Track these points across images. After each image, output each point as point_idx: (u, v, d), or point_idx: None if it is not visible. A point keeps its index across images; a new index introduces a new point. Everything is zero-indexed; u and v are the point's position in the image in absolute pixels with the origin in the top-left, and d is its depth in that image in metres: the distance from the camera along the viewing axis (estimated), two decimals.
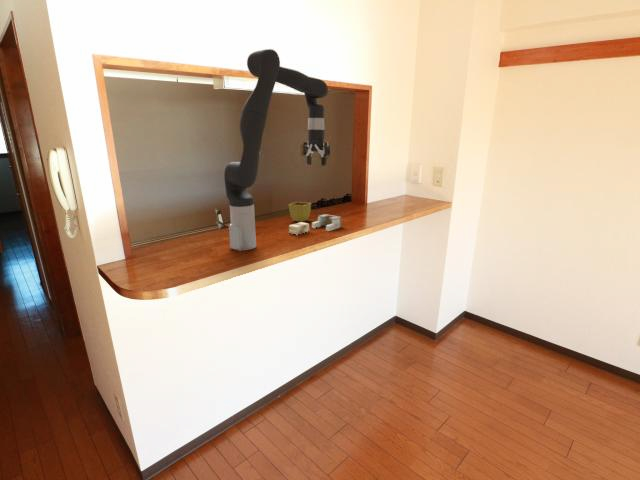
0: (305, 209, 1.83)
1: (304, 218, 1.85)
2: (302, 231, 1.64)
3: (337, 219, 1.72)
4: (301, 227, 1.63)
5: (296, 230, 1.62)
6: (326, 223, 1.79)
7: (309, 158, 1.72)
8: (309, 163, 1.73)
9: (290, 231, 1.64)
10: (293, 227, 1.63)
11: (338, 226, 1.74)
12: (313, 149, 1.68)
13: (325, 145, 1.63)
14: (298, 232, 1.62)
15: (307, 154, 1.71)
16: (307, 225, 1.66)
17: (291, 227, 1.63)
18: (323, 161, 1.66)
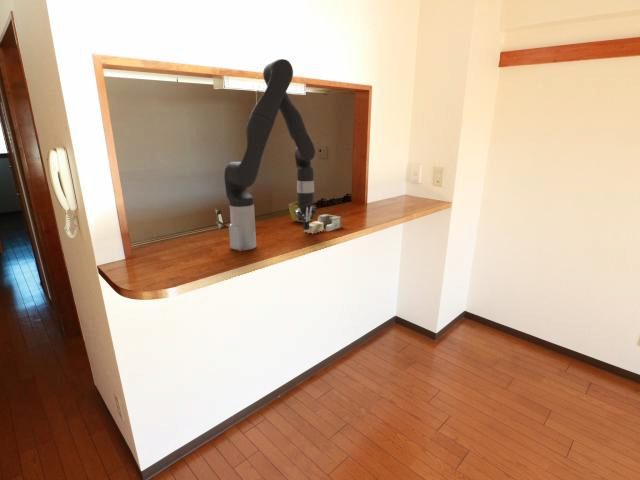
0: None
1: None
2: (317, 230, 1.66)
3: (337, 219, 1.72)
4: (316, 226, 1.65)
5: (311, 229, 1.64)
6: (326, 223, 1.79)
7: None
8: None
9: (305, 230, 1.66)
10: None
11: (338, 226, 1.74)
12: None
13: None
14: (313, 231, 1.64)
15: (304, 218, 1.63)
16: (322, 224, 1.68)
17: None
18: (303, 225, 1.63)
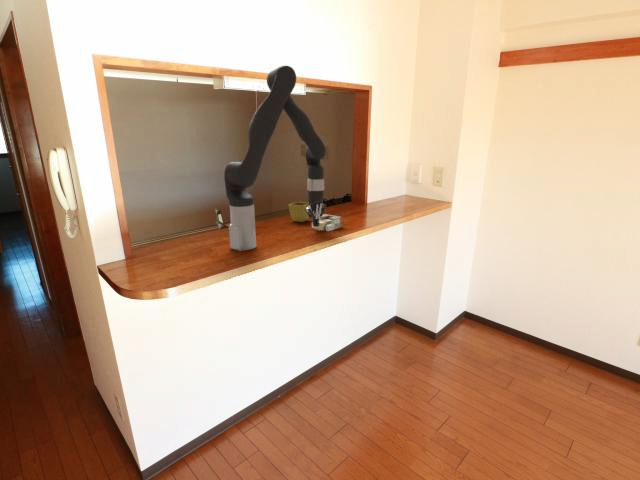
0: None
1: (304, 218, 1.85)
2: None
3: (337, 219, 1.72)
4: (325, 223, 1.71)
5: (321, 226, 1.69)
6: None
7: None
8: None
9: (314, 227, 1.72)
10: None
11: (338, 226, 1.74)
12: None
13: None
14: (322, 228, 1.70)
15: (314, 215, 1.69)
16: (330, 221, 1.73)
17: None
18: (313, 222, 1.68)
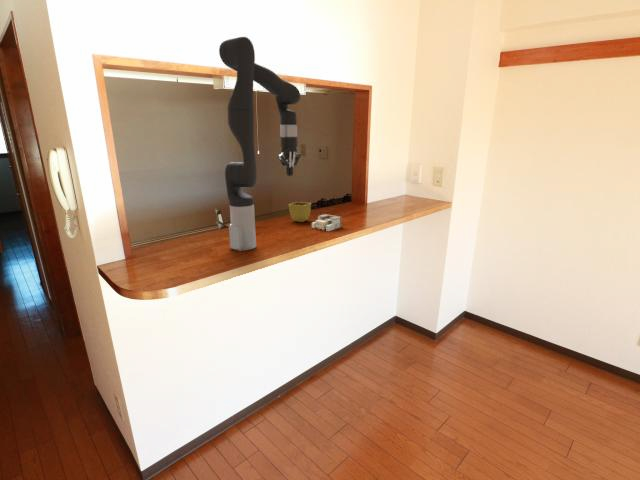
0: (305, 209, 1.83)
1: (304, 218, 1.85)
2: None
3: (337, 219, 1.72)
4: (327, 222, 1.72)
5: (322, 225, 1.70)
6: None
7: None
8: None
9: (316, 226, 1.73)
10: (319, 222, 1.71)
11: (338, 226, 1.74)
12: None
13: None
14: (324, 227, 1.71)
15: None
16: None
17: (317, 222, 1.72)
18: None
